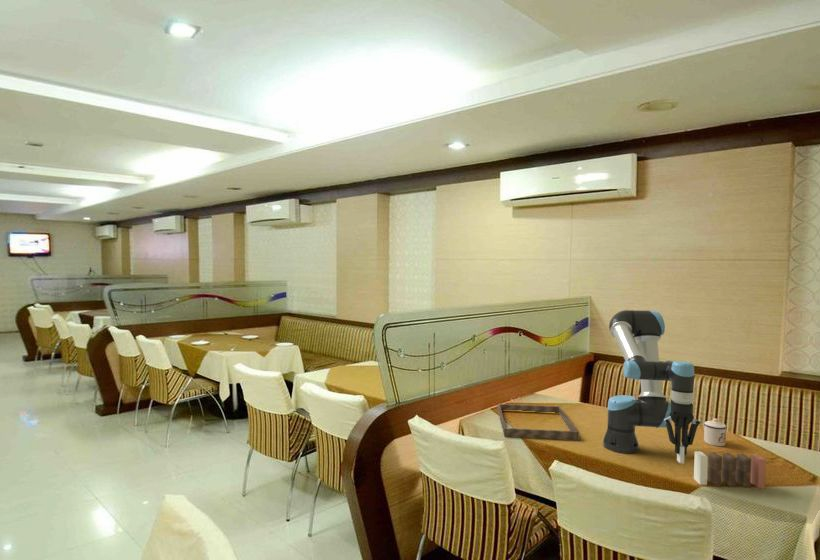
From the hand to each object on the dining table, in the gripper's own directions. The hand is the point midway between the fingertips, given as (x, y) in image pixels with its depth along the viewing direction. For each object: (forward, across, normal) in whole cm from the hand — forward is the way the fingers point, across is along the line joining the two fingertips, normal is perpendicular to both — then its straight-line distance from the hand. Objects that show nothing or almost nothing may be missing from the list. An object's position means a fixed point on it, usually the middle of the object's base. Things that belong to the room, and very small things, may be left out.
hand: (680, 461), depth 184 cm
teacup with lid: (+7, +36, +46) cm, 59 cm away
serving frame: (+7, -46, +60) cm, 76 cm away
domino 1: (+8, +8, 0) cm, 11 cm away
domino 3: (+8, +18, 0) cm, 19 cm away
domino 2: (+8, +13, 0) cm, 15 cm away
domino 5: (+8, +28, 0) cm, 29 cm away
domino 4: (+8, +23, 0) cm, 24 cm away
